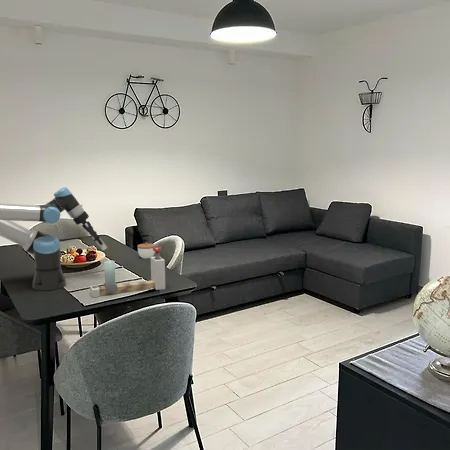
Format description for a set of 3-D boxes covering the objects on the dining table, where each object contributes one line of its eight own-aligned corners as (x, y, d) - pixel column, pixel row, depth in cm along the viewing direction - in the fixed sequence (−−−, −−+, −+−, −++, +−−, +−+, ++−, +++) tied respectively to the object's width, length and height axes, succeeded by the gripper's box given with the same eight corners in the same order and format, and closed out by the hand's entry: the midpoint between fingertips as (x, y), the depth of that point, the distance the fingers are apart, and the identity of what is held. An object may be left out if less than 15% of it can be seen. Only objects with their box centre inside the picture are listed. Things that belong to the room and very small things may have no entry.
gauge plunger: (154, 272, 217) (154, 249, 215) (152, 270, 220) (152, 247, 218) (163, 271, 218) (162, 248, 216) (160, 269, 222) (160, 246, 220)
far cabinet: (156, 290, 216) (155, 261, 213) (151, 284, 224) (150, 256, 221) (165, 288, 217) (164, 260, 215) (160, 283, 226) (159, 256, 223)
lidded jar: (147, 254, 287) (147, 240, 286) (159, 257, 280) (158, 242, 279) (134, 257, 279) (133, 242, 277) (145, 260, 272) (145, 245, 271)
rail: (99, 295, 208) (99, 289, 207) (97, 293, 211) (97, 286, 211) (154, 288, 218) (154, 282, 217) (152, 286, 222) (152, 280, 221)
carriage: (106, 292, 207) (104, 263, 205) (103, 288, 213) (102, 260, 211) (117, 291, 209) (116, 262, 207) (114, 287, 215) (113, 259, 213)
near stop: (92, 297, 205) (92, 288, 204) (90, 293, 211) (90, 284, 211) (99, 296, 206) (99, 287, 205) (97, 292, 212) (96, 283, 212)
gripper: (87, 212, 225) (113, 246, 232) (81, 208, 247) (105, 239, 254) (74, 221, 223) (100, 255, 230) (70, 216, 246) (94, 247, 253)
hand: (103, 246), depth 242 cm, fingers open, 13 cm apart
